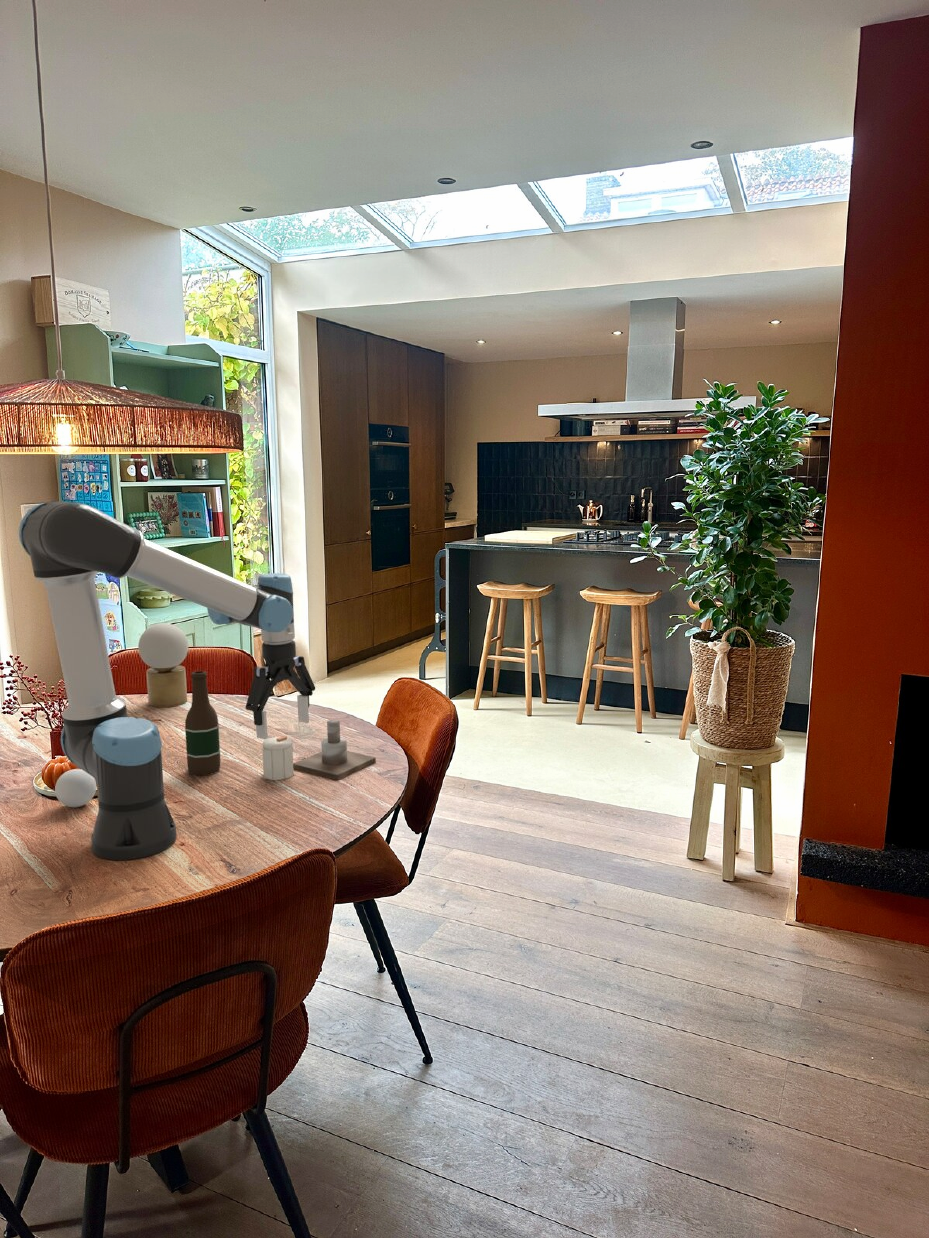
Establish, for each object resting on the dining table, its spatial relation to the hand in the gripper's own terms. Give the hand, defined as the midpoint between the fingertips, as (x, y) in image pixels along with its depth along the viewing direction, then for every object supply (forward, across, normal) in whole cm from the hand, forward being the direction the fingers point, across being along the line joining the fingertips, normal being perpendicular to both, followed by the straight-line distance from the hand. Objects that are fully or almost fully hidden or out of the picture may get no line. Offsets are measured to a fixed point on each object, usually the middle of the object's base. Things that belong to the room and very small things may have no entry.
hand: (283, 729), depth 197 cm
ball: (+10, -38, +23) cm, 46 cm away
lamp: (+11, +24, +72) cm, 77 cm away
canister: (+10, -2, 0) cm, 11 cm away
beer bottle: (+10, -10, +17) cm, 22 cm away
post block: (+10, +10, -7) cm, 16 cm away
